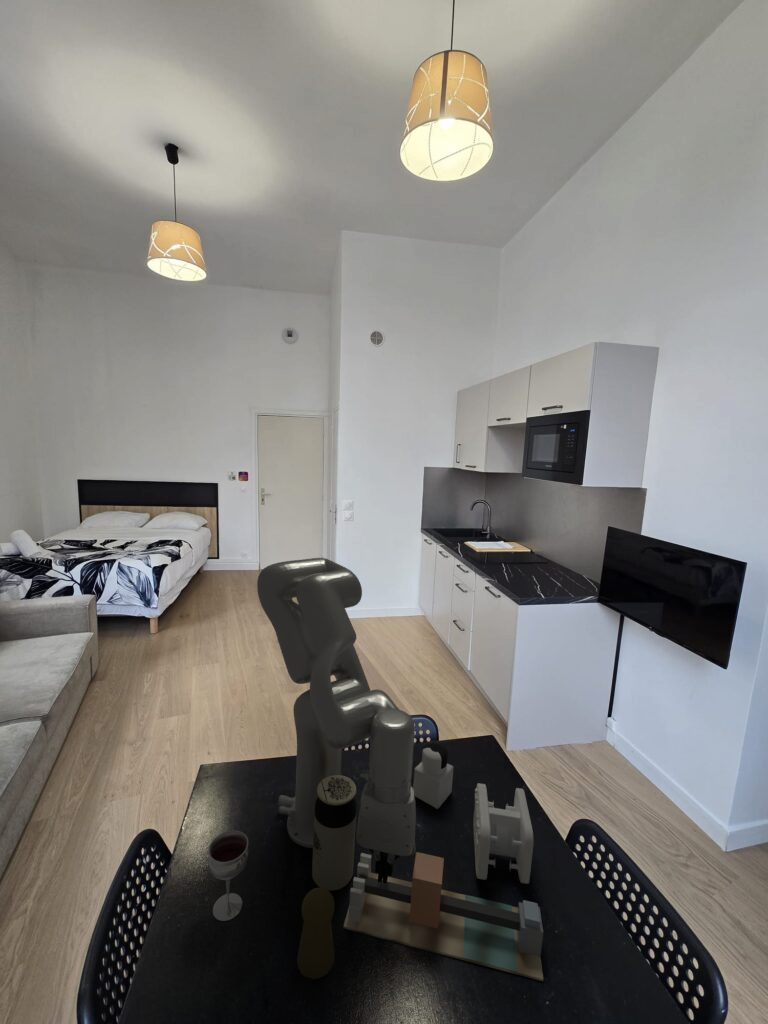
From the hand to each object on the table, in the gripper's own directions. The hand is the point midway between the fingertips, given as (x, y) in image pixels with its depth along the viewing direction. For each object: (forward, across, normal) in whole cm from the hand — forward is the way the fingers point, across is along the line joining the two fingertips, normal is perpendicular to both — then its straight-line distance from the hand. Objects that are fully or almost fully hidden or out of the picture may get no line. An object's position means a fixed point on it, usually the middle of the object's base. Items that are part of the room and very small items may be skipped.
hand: (383, 875), depth 81 cm
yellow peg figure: (+6, -9, -11) cm, 15 cm away
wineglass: (+6, -27, -7) cm, 28 cm away
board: (+6, +11, 0) cm, 12 cm away
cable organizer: (+6, +21, +16) cm, 27 cm away
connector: (+6, +26, 0) cm, 26 cm away
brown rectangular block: (+5, +8, 0) cm, 9 cm away
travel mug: (+6, -11, +4) cm, 13 cm away
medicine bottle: (+6, +6, +30) cm, 31 cm away
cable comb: (+6, -4, 0) cm, 7 cm away
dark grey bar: (+4, +10, 0) cm, 11 cm away
